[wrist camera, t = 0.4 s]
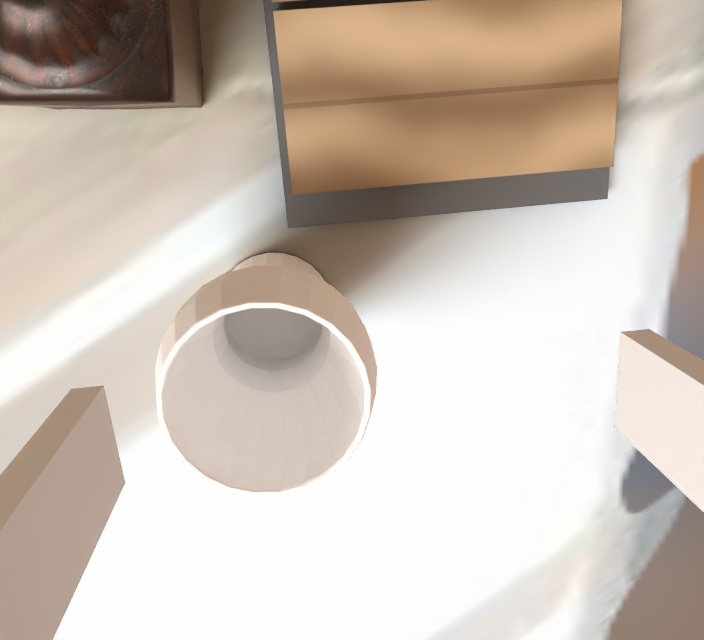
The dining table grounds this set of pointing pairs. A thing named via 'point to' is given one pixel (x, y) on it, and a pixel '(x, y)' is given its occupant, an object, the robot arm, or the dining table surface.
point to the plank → (282, 0)
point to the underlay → (424, 195)
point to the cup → (265, 378)
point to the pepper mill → (100, 54)
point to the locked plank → (447, 90)
